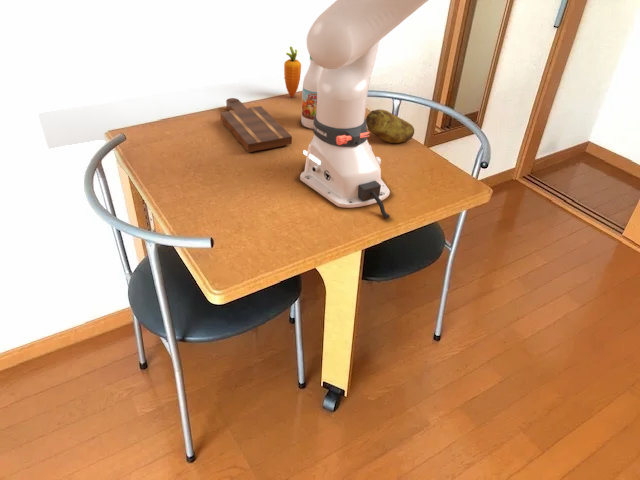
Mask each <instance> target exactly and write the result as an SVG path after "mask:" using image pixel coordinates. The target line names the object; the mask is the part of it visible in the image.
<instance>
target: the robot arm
mask: <svg viewBox="0 0 640 480" xmlns="http://www.w3.org/2000/svg"><path fill="white" fill-rule="evenodd" d="M428 1H429V0H335V1H334V2H333V3H332V4H330V6H328V7H327V8H326V9H325V10H324V11H323V12H321V13H320V14H319V15H318V16H317V18H316V19H315V20H314V22H313V23H312V25H311V27H310V28H309V30H308V33H307V36H306V49H307V52H308V54H309V57H310V56H311V58H312V59H313V60H314V62H315V63H317V64H318V65H319V66H321V67H323V70H322V73H321V76H320V78H319V81H318V89H317V107H316V114H315V116H314V121H313V129H312V132H313V136H312V139H311V141H310V142H309V144H308V145H307V150H305V149H304V150H303V155H305V156H306V157H305V165H304V171H302V172H301V173H300V176H299V180H300V181H301V182H302V183H304V184H305V185H306V186H308V187H310V188H311V189H312V190H314V191H315V192H317V193H318V194H319V195H320V196H322V197H323V198H325V199H326V200H327V201H329V202H331V203H332V204H334V205H335V206H336V207H338V208H348V209H349V208H351V209H352V208H360V207H365V206H369V205H373V204H376V203H377V205H378V206H379V210H380V214H381V216H383V217H384V218H385V219H387V220H388V219H390V216H391V215H389V214H388V213H387V212H386V209H385V205H384V203H383V202H382V201H384V200H386V199H387V198H388V197H389V196H390V194H391V191H390V189H389V187H388V186H387V185H386V183H385V181H383V179H382V170H381V164H382V160H381V157H380V156H375V153H374V151H373V148H372V145H371V144H370V143H369V140H368V137H370V135H369V134H370V133H371V132H370V131H368V127H367V124H366V112H367V111H366V110H367V109H366V108H367V102H368V93H369V87H370V82H371V78H372V74H373V71H374V67H375V63H376V60H377V59H376V58H377V54H378V49H379V45H380V41H381V40H382V39H384V38H385V37H386V36H387V35H388V34H390V33H391V32H392V31H393V30H394V29H396V28H397V27H398V26H399V25H400V24H401V23H403V22H404V21H405V20H406V19H407V18H409V17H410V16H411V15H412V14H414V13H415V12H416V11H418V9H420V8H421V7H422V6H423V5H424V4H426V3H427V2H428Z"/></svg>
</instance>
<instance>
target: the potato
mask: <svg viewBox="0 0 640 480" xmlns="http://www.w3.org/2000/svg"><path fill="white" fill-rule="evenodd" d="M365 119H366V125H367V131H368V132H370V133H371V134H372V135H374V136H375V137H377V138H380V139H381V140H383V141H385V142H387V143H391V144H400V143H401V144H402V143H404V142H407V141H410V140H411V139H413V137H414V135H415V128H414V126H413V124H411V123H409V122H408V121H407V120H404V119H403V118H400V117H399V116H397V115H395V114H394V113H391V112H390V111H388V110H385V109H381V108H380V109H373V110H371V111H370V112H369V113H368V114H367V116H365Z"/></svg>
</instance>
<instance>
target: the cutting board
mask: <svg viewBox="0 0 640 480" xmlns="http://www.w3.org/2000/svg"><path fill="white" fill-rule="evenodd" d="M225 105H226V106H225V107H226V109H227V110H228V111H227V110H226V111H221V112H220V113H219V115H220V121H221V122H222V124H224V126H225V127H226V129H228V130H229V131H230V133H231V134H232V136H234V138H235V139H236V140H237V141H238V143H240V145H241V146H242V147H243V148H244V149H245V150H246V152H247V153H254V152H257V151H261V150H268V149H274V148H278V147H286V146H289V145H292V144H293V135H292V134H290V133H289V132H288V131H287V130H286V129H285V128H284V126H282V125H281V124H280V123H279V122H278V121H277V120H276V119H275V118H274V117H273V116H272V115H271V114H269V112H268V111H266V110H265V108H264V107H263V106H261V105H259V106H251V107H250V106H249V107H248V108H247V106H246V105H244V104H243V102H241V101H240V100H239V98H235V97H230V98H227V99H226V101H225Z"/></svg>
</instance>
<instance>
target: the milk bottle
mask: <svg viewBox="0 0 640 480" xmlns="http://www.w3.org/2000/svg"><path fill="white" fill-rule="evenodd" d="M322 70H323V67H321V66H319V65H318V64H317V63H315V62H314V60H313V59H312V58H311V56H310V55H309V67H308V69H307V71H306V73H305V75H304V78H303V81H302V93H301V117H300V122H301V125H302V126H303V127H305V128H307V129H312V130H313V121H314V116H315V114H316V107H317V89H318V81H319V78H320V76H321V73H322Z"/></svg>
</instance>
